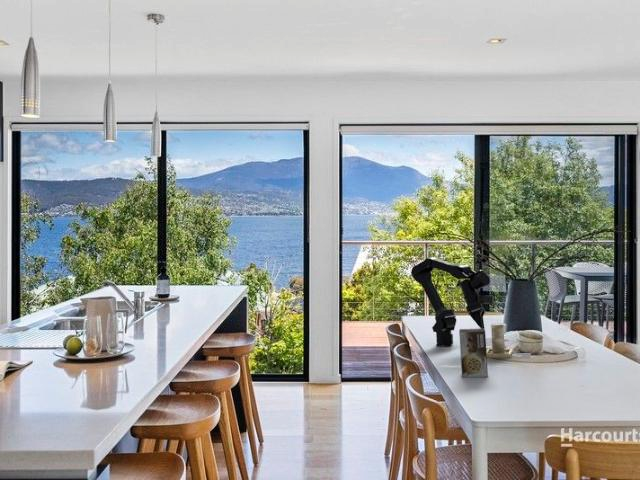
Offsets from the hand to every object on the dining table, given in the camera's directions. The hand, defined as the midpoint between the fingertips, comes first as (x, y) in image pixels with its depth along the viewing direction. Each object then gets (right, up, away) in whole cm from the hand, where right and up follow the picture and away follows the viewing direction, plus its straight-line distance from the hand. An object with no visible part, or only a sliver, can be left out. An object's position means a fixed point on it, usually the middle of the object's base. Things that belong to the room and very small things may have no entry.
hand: (482, 328), depth 280 cm
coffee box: (-13, -11, -43) cm, 46 cm away
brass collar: (+3, -9, -14) cm, 17 cm away
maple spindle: (+3, -9, -14) cm, 16 cm away
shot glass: (+14, -8, +25) cm, 30 cm away
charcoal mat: (+5, -9, -8) cm, 13 cm away
